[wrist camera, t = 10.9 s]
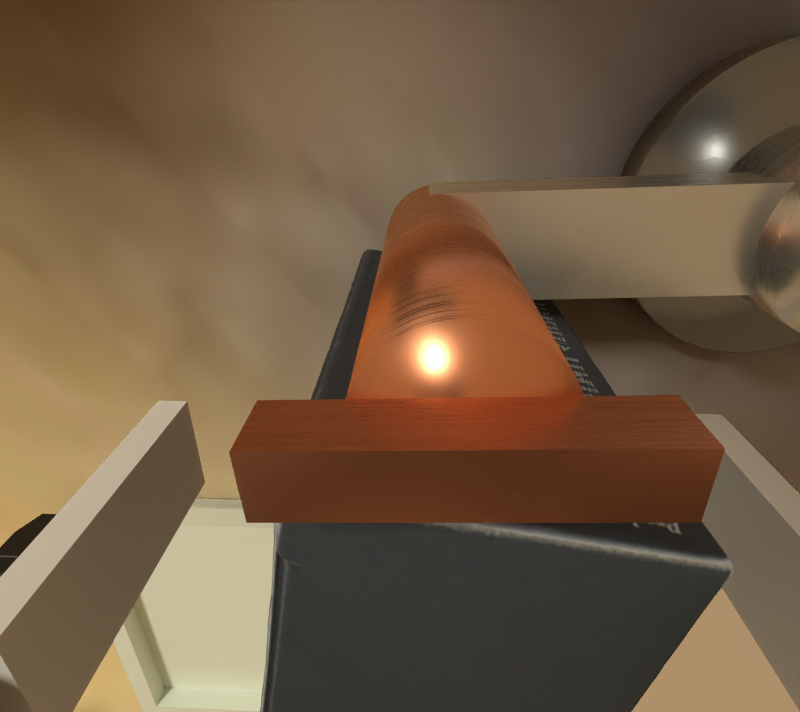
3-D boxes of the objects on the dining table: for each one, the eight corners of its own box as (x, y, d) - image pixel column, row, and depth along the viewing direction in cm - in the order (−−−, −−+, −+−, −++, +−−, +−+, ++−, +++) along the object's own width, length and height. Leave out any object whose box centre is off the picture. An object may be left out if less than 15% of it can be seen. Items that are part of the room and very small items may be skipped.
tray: (157, 685, 26) (144, 715, 24) (85, 495, 20) (63, 522, 18) (407, 695, 25) (406, 726, 24) (410, 504, 19) (410, 532, 18)
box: (479, 474, 19) (539, 859, 9) (329, 448, 18) (234, 819, 9) (547, 278, 15) (762, 580, 6) (362, 241, 15) (260, 496, 5)
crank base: (587, 333, 16) (599, 349, 15) (645, 35, 12) (666, 29, 11) (844, 337, 16) (875, 355, 14) (983, 35, 12) (1038, 29, 11)
